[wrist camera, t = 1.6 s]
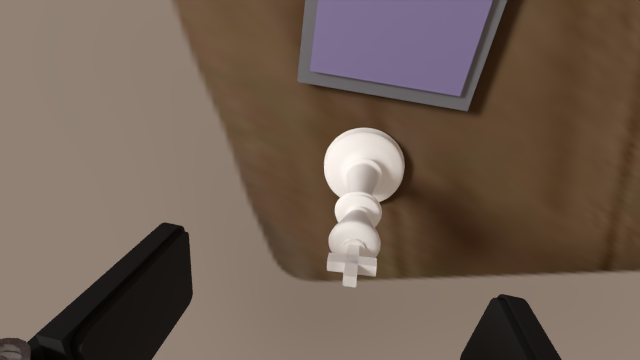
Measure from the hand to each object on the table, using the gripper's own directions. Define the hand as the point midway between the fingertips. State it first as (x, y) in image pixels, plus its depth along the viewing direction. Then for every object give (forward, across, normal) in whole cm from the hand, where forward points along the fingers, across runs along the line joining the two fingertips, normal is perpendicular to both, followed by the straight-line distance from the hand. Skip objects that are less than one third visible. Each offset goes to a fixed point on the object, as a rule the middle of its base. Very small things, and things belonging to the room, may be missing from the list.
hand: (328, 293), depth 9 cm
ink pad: (+10, -1, -9) cm, 14 cm away
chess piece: (+11, -1, 0) cm, 11 cm away
